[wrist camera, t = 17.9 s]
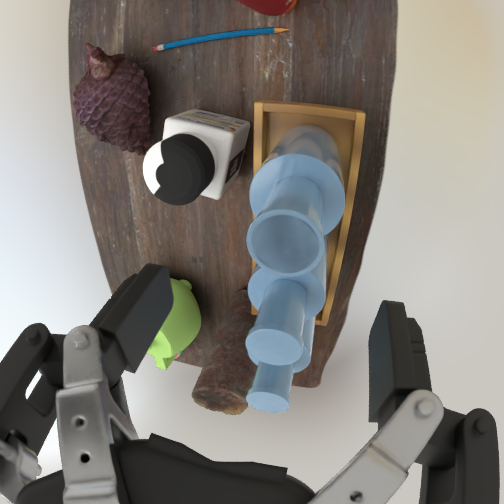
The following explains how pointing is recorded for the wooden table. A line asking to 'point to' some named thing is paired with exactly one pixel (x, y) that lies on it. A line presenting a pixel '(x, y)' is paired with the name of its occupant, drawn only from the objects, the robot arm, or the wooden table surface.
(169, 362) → the teapot
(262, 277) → the bottle mid
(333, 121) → the tray
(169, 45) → the pencil
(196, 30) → the wooden table surface
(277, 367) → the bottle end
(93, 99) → the pine cone
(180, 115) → the container
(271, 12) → the paper cup
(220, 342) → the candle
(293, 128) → the bottle
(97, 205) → the wooden table surface
